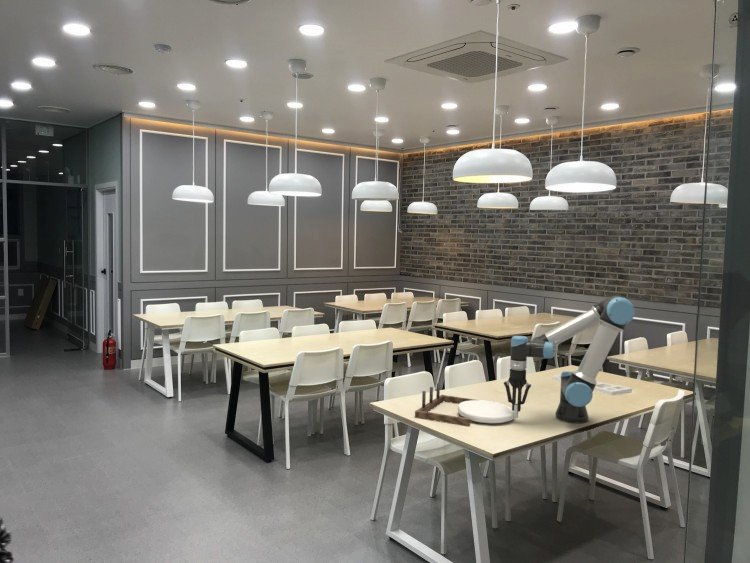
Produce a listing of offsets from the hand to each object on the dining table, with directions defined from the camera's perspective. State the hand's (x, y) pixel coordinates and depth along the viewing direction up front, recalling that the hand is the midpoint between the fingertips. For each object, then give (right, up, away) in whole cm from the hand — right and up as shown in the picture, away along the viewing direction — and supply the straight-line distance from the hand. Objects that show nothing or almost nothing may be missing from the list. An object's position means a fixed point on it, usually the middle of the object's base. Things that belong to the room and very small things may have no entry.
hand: (515, 417), depth 276 cm
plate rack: (-27, -1, +14) cm, 31 cm away
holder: (+65, 0, +80) cm, 104 cm away
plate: (-14, -2, +7) cm, 15 cm away
